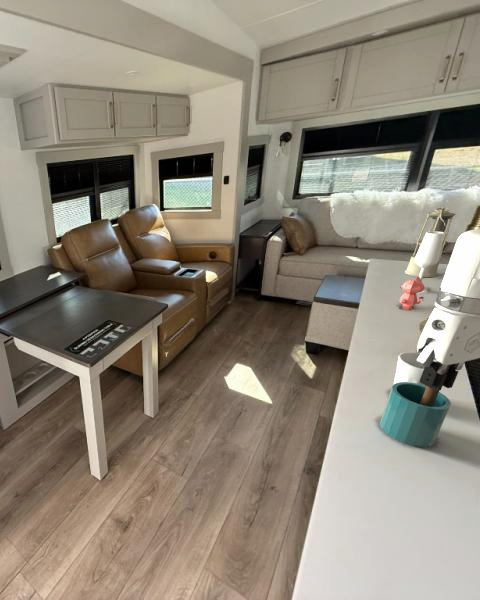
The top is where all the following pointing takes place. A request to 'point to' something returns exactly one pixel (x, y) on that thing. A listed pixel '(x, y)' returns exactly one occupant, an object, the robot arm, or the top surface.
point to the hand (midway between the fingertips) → (435, 384)
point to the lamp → (436, 224)
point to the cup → (409, 368)
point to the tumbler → (413, 415)
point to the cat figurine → (411, 293)
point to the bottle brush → (430, 394)
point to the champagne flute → (429, 252)
